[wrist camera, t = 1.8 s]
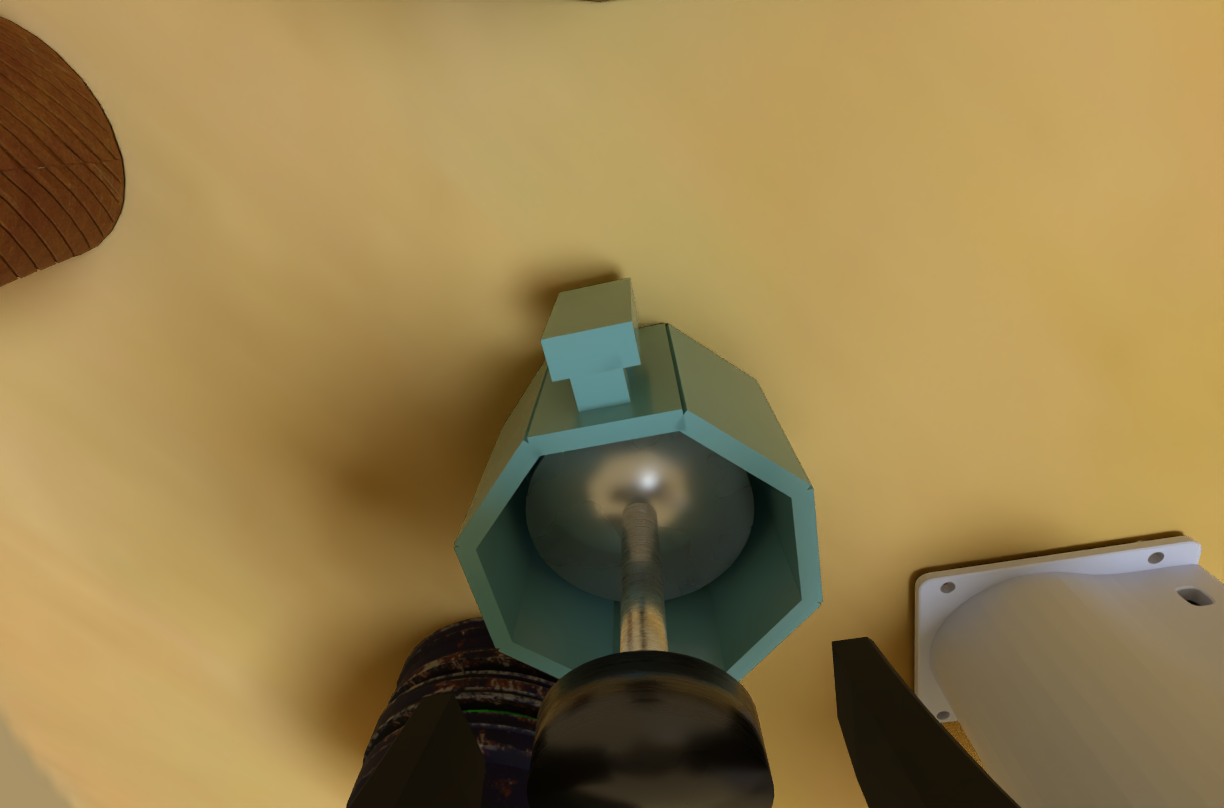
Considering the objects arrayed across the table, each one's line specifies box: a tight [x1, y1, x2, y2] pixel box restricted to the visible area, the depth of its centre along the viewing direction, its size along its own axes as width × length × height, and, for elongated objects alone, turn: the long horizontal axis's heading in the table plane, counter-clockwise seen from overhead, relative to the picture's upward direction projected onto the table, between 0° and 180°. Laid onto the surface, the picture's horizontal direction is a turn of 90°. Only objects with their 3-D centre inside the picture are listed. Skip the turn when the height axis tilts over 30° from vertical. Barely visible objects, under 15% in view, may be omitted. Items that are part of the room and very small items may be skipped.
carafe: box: [454, 278, 823, 682], centre depth 16 cm, size 8×10×6 cm
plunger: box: [526, 431, 774, 808], centre depth 13 cm, size 6×6×8 cm
